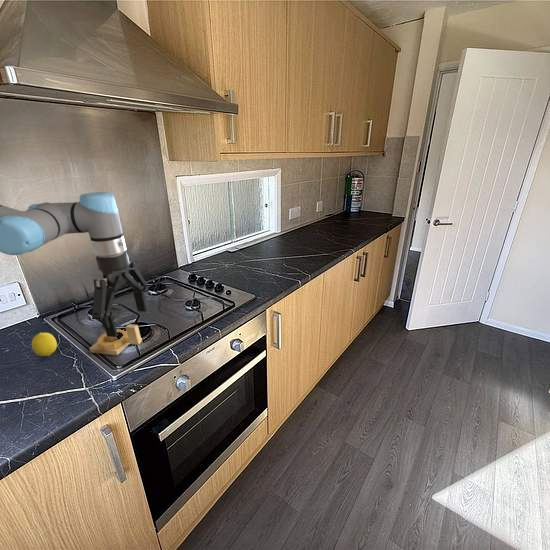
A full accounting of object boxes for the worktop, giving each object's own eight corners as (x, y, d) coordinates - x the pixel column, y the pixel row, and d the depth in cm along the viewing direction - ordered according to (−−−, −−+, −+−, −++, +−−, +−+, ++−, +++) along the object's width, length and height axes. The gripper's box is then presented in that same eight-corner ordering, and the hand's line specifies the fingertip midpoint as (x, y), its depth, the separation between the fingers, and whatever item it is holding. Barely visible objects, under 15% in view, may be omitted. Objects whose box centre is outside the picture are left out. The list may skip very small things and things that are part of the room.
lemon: (32, 361, 84) (22, 338, 81) (48, 349, 89) (39, 327, 86) (49, 362, 83) (40, 339, 80) (65, 350, 88) (56, 327, 85)
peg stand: (90, 352, 87) (74, 306, 81) (111, 335, 95) (98, 292, 89) (117, 355, 85) (103, 309, 79) (136, 337, 93) (124, 294, 87)
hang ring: (92, 348, 86) (86, 330, 84) (111, 331, 94) (106, 315, 92) (131, 352, 84) (126, 334, 82) (148, 335, 92) (144, 318, 89)
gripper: (87, 272, 65) (110, 350, 73) (151, 240, 88) (162, 303, 96) (58, 270, 66) (84, 347, 75) (128, 239, 89) (142, 301, 97)
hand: (128, 322), depth 85 cm, fingers open, 13 cm apart
